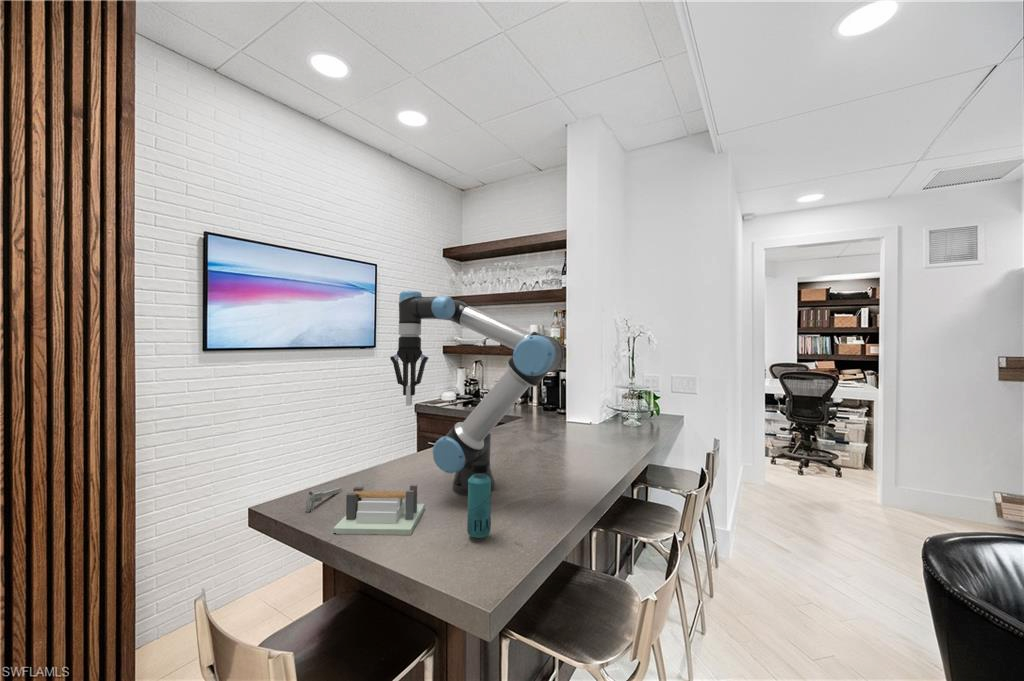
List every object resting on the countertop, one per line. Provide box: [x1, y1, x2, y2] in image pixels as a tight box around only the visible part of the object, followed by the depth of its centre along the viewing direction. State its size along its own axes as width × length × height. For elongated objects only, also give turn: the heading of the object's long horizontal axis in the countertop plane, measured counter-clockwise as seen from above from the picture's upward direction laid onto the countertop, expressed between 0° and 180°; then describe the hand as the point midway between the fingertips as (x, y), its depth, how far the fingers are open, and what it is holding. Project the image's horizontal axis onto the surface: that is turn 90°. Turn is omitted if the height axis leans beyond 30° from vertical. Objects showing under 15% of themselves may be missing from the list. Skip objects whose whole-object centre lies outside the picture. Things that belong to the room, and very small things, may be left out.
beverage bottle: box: [466, 462, 492, 538], centre depth 113 cm, size 6×7×20 cm
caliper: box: [305, 487, 344, 513], centre depth 139 cm, size 20×1×6 cm, turn 173°
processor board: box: [332, 484, 426, 536], centre depth 124 cm, size 21×18×10 cm
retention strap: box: [352, 490, 415, 503], centre depth 124 cm, size 18×3×4 cm, turn 90°
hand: (408, 404), depth 146 cm, fingers closed
